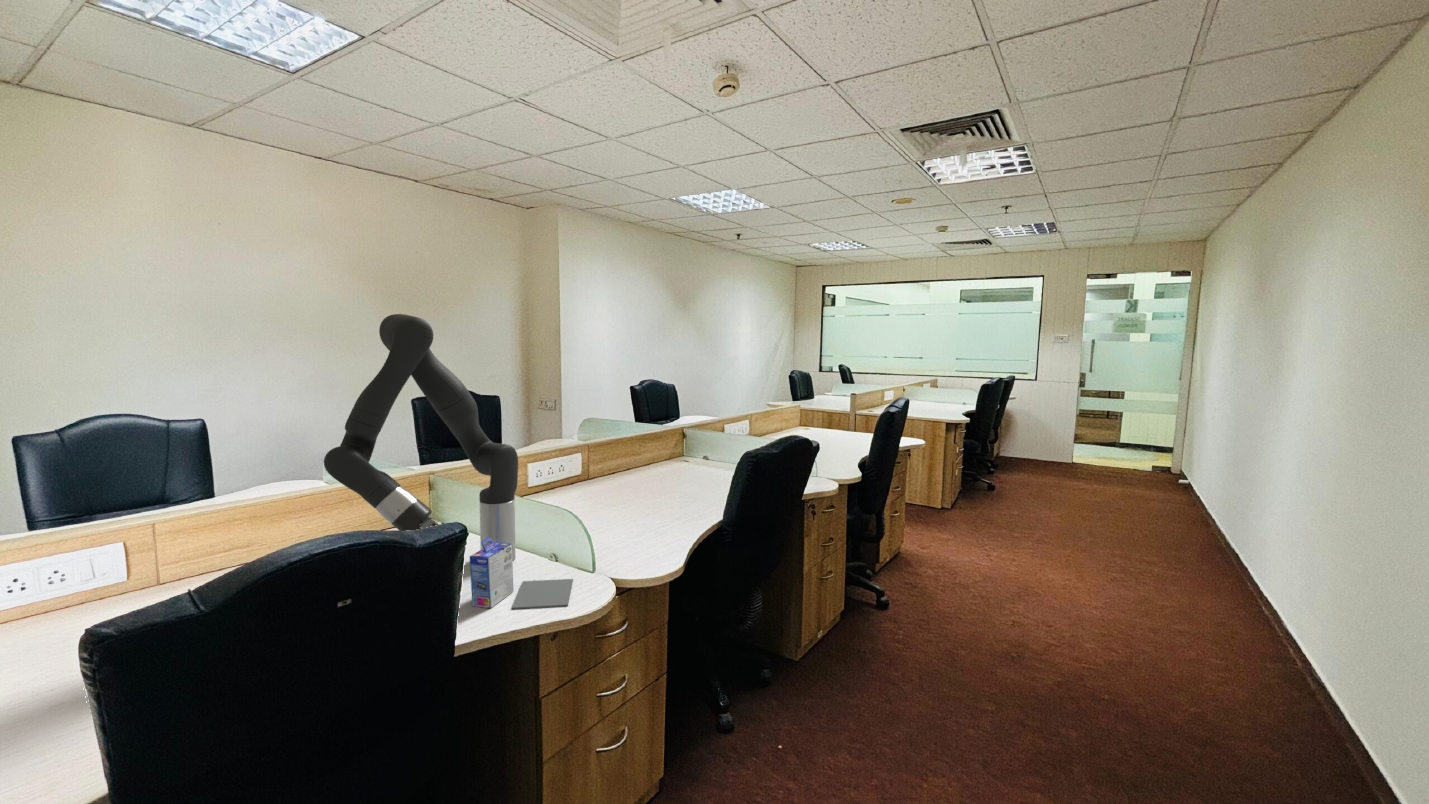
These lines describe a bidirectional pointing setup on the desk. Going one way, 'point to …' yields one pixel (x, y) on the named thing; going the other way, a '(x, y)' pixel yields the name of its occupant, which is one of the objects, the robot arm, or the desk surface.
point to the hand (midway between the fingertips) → (461, 559)
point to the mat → (543, 594)
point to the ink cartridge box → (491, 574)
